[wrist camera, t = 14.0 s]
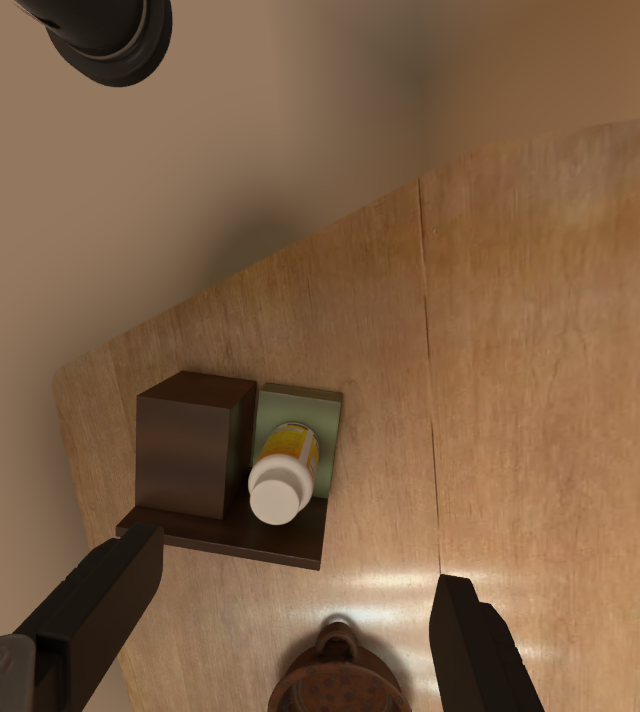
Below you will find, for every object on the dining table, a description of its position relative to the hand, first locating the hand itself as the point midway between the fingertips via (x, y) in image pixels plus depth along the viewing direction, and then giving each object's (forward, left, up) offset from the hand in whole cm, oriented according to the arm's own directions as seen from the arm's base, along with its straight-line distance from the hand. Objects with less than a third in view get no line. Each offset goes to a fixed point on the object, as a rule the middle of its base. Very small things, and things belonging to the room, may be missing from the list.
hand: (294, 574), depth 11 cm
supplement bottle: (+9, -3, -27) cm, 29 cm away
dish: (+43, +6, -30) cm, 53 cm away
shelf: (+10, -8, -30) cm, 33 cm away
